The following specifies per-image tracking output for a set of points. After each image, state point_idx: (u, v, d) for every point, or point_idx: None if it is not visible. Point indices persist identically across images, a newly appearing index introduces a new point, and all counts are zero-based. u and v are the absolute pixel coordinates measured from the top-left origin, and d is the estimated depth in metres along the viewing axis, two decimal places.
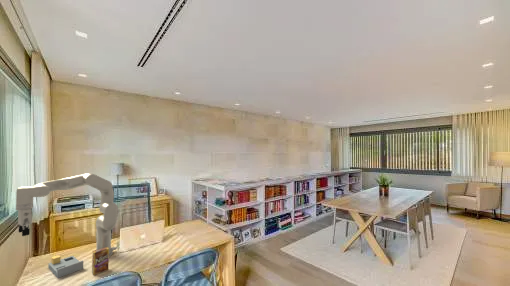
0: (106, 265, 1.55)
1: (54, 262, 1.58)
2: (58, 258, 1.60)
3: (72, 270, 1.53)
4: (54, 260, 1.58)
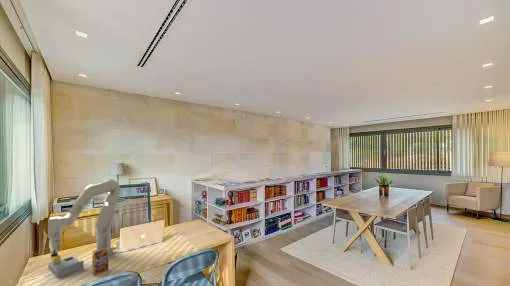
0: (106, 265, 1.55)
1: (54, 262, 1.58)
2: (58, 258, 1.60)
3: (72, 270, 1.53)
4: (54, 260, 1.58)
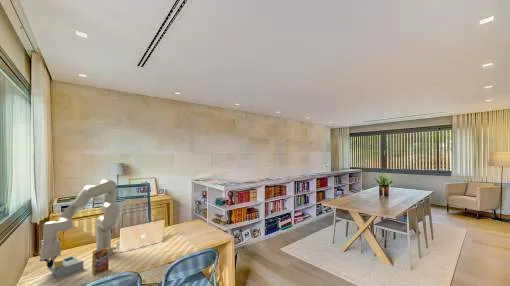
0: (106, 265, 1.55)
1: (56, 266, 1.53)
2: (60, 262, 1.55)
3: (72, 270, 1.53)
4: (56, 264, 1.53)
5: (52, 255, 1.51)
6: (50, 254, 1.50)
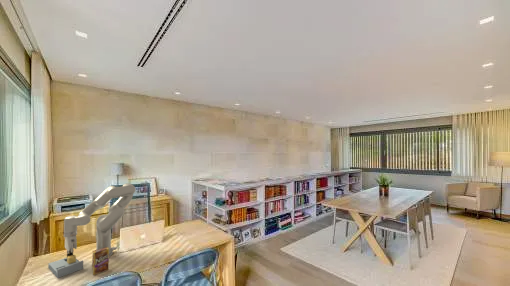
0: (106, 265, 1.55)
1: (70, 262, 1.59)
2: (73, 258, 1.60)
3: (72, 270, 1.53)
4: (70, 260, 1.59)
5: None
6: None
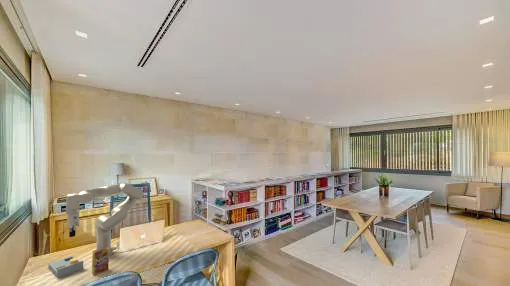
0: (106, 265, 1.55)
1: None
2: (76, 261, 1.56)
3: (72, 270, 1.53)
4: (71, 263, 1.54)
5: None
6: None
